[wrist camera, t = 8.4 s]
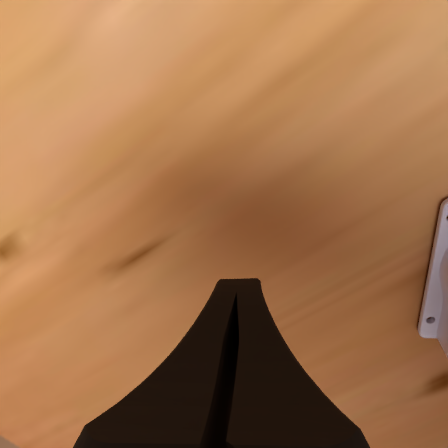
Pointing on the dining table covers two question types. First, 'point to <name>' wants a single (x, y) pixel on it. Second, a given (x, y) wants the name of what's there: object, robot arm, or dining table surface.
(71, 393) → the dining table surface
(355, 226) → the dining table surface
